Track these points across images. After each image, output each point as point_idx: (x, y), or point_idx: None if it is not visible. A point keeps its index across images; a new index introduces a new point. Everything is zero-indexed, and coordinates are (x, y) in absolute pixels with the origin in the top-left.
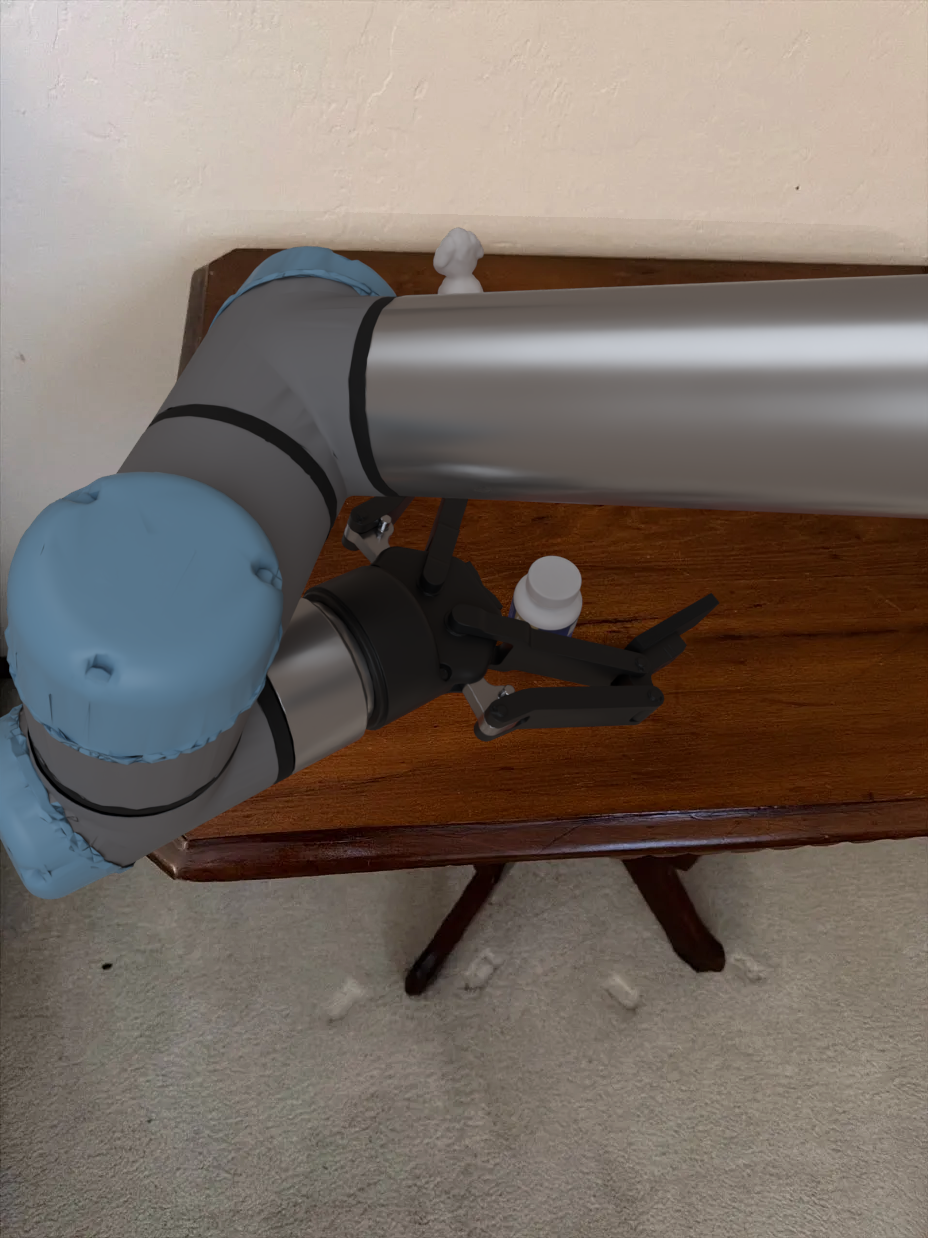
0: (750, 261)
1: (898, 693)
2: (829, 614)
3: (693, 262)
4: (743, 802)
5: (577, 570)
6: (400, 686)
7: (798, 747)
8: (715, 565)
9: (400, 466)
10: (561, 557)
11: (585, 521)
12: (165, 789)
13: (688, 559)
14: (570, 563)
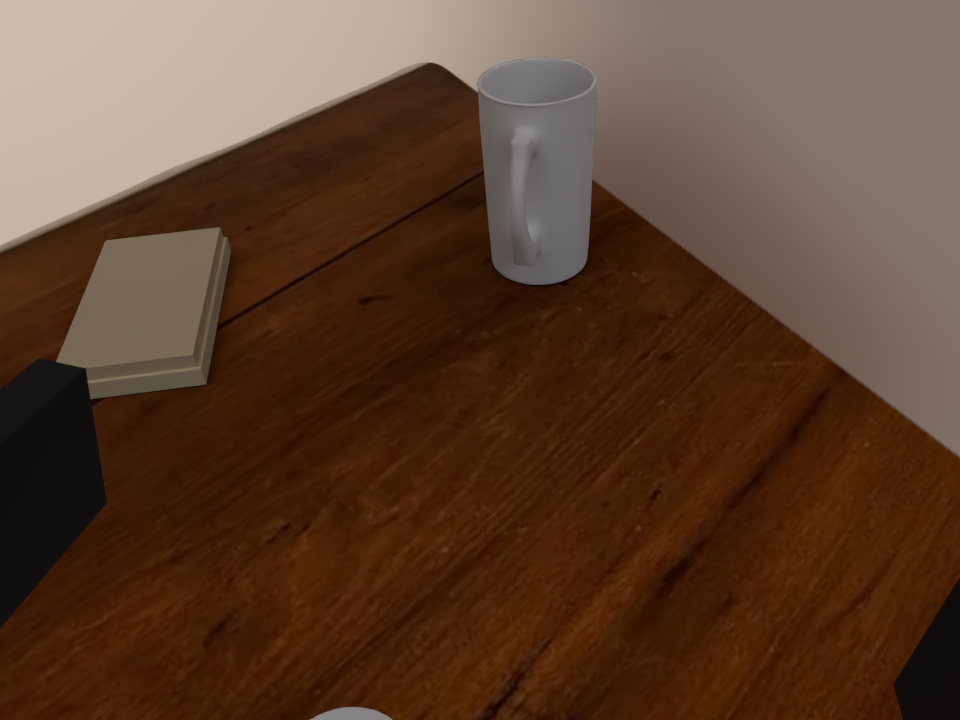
0: (262, 136)
1: (929, 465)
2: (743, 431)
3: (195, 169)
4: None
5: (378, 715)
6: None
7: None
8: (547, 483)
9: None
10: (320, 715)
11: (301, 572)
12: None
13: (504, 505)
14: (351, 712)
